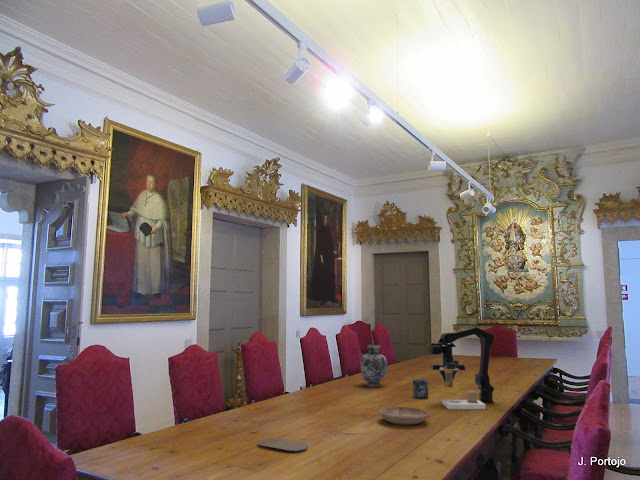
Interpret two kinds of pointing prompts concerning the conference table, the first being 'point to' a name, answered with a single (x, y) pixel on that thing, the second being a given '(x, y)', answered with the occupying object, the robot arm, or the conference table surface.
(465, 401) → the white block with holes
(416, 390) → the box
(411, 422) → the ceramic bowl
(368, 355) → the decorative vase
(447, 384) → the beige rectangular block
